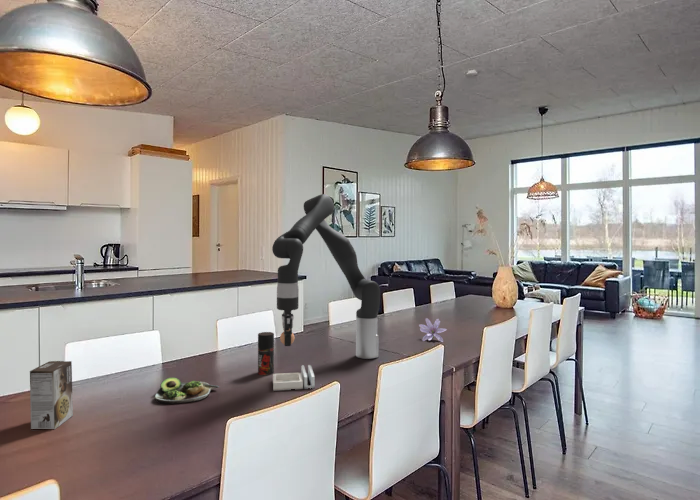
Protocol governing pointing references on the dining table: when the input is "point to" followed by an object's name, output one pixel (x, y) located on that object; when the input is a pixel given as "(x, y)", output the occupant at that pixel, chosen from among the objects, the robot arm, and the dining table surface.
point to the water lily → (432, 330)
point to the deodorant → (265, 353)
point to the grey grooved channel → (309, 374)
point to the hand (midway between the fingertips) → (287, 343)
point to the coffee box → (51, 394)
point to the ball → (284, 338)
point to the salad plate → (182, 391)
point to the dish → (287, 381)
